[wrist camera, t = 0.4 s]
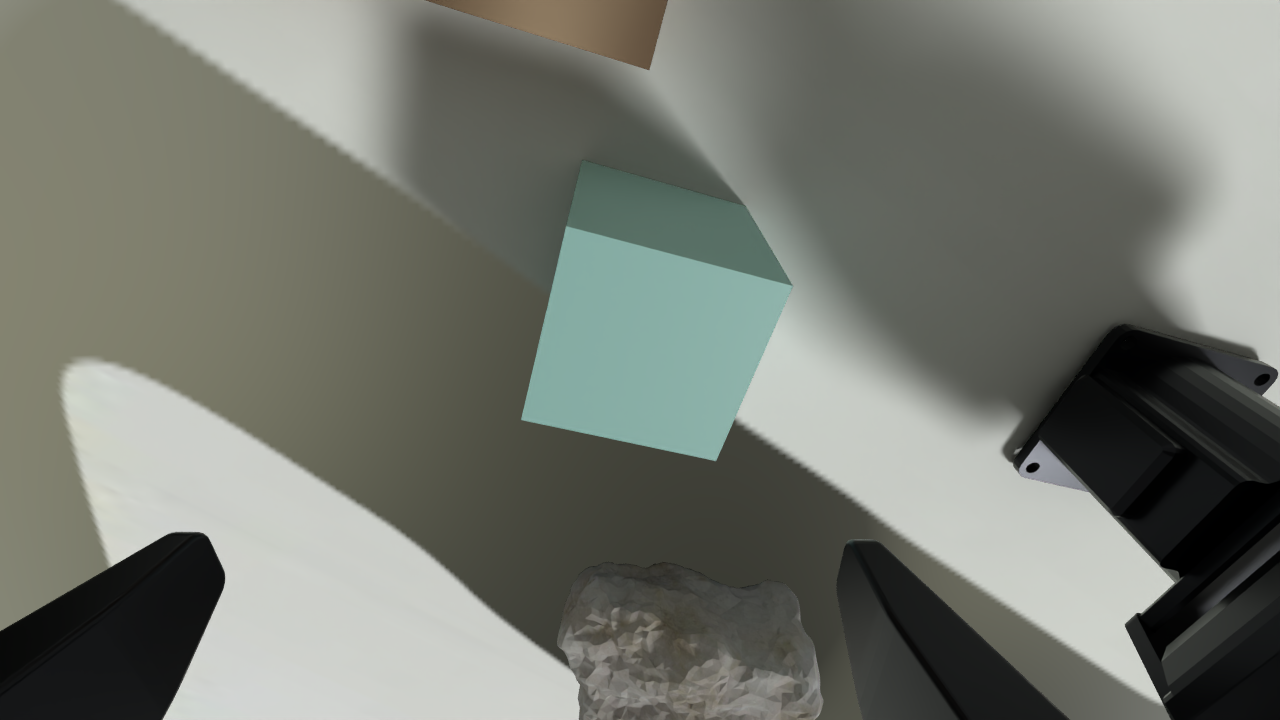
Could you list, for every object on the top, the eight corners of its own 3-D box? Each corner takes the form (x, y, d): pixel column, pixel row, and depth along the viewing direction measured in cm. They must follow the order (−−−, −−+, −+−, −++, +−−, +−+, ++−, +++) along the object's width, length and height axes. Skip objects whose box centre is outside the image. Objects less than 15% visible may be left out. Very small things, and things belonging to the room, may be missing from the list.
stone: (788, 512, 25) (829, 642, 20) (798, 636, 29) (834, 770, 24) (550, 547, 26) (533, 681, 21) (593, 663, 30) (587, 799, 25)
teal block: (745, 205, 19) (792, 285, 13) (692, 346, 21) (716, 460, 16) (582, 159, 18) (566, 226, 13) (547, 311, 20) (521, 419, 15)
